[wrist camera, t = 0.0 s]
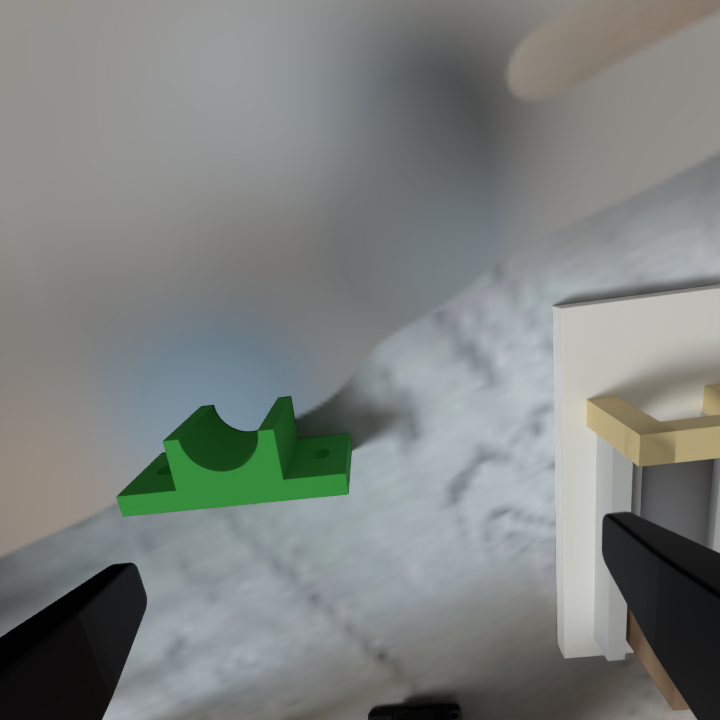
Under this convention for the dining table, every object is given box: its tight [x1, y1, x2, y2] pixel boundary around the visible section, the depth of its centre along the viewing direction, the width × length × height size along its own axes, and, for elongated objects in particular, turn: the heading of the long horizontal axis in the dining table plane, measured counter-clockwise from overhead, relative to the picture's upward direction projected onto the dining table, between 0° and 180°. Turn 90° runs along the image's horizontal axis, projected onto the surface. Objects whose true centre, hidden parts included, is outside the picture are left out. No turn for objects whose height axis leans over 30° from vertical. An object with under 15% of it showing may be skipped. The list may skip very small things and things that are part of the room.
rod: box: [640, 459, 714, 546], centre depth 21 cm, size 7×3×3 cm, turn 8°
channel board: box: [553, 284, 720, 661], centre depth 21 cm, size 22×10×5 cm, turn 8°
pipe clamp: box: [117, 396, 352, 517], centre depth 21 cm, size 11×4×5 cm, turn 97°
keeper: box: [626, 605, 690, 710], centre depth 22 cm, size 5×3×4 cm
